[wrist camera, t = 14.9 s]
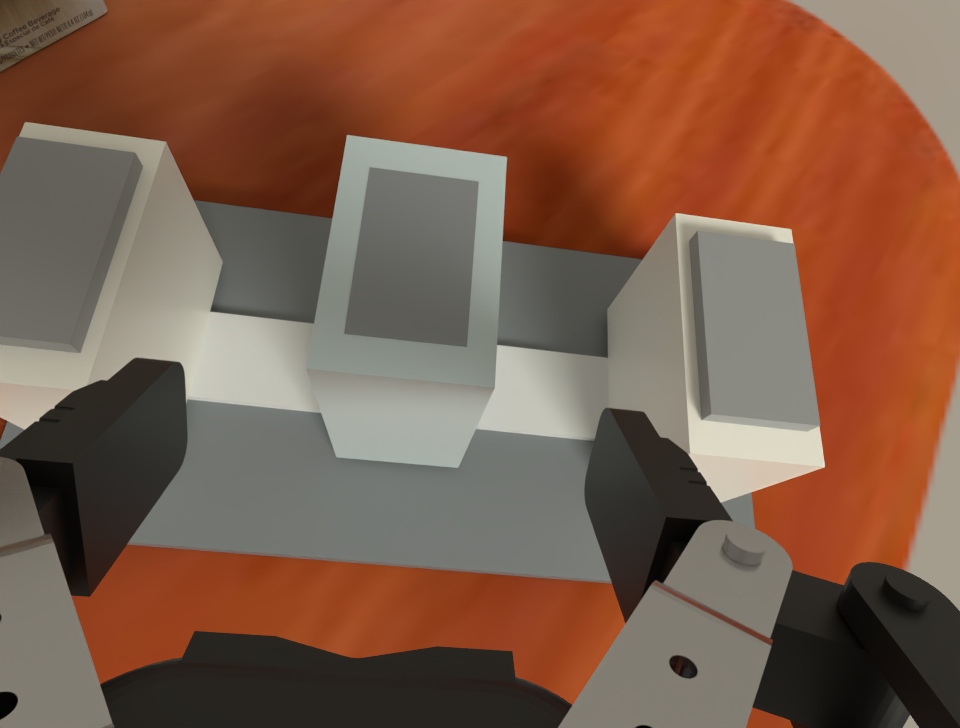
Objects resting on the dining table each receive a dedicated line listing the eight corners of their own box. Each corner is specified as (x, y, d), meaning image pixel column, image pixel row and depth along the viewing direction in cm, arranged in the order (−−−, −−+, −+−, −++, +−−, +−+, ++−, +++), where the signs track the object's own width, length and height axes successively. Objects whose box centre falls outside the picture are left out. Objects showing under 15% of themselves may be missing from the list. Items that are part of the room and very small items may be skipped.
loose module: (336, 457, 23) (306, 368, 15) (360, 289, 26) (346, 134, 17) (458, 467, 24) (494, 387, 15) (470, 302, 26) (507, 156, 18)
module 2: (609, 496, 24) (699, 447, 17) (607, 309, 27) (683, 201, 20) (709, 506, 24) (838, 461, 17) (696, 320, 27) (802, 218, 20)
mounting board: (-12, 533, 22) (-40, 527, 21) (105, 204, 27) (89, 180, 26) (744, 594, 25) (767, 592, 23) (717, 283, 30) (734, 266, 29)
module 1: (54, 444, 22) (-103, 364, 15) (119, 249, 25) (13, 106, 18) (172, 456, 22) (73, 383, 15) (222, 262, 25) (159, 127, 18)
